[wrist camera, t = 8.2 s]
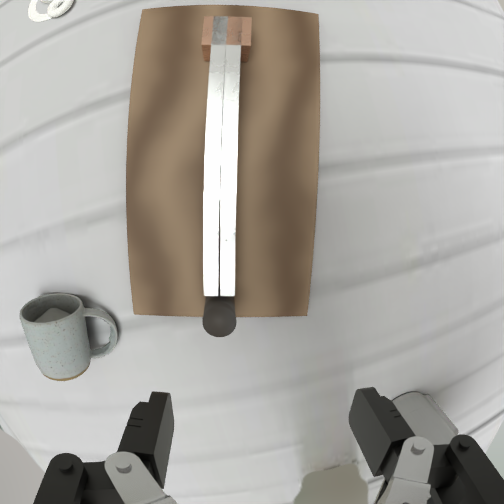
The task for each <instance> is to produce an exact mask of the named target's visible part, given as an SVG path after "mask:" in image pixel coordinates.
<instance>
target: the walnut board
mask: <svg viewBox="0 0 504 504" xmlns="http://www.w3.org/2000/svg"><path fill="white" fill-rule="evenodd" d="M204 16H228V17H252V27H251V47H250V52H249V56H248V61H247V62H240V82H239V111H238V143H237V182H236V233H235V296H220V217H219V289H218V296H204V267H203V221H204V167H205V139H206V116H207V98H208V81H209V67H210V61H204V57H203V51H202V45H201V43H202V33H203V23H204ZM222 125H223V120H222ZM319 132H320V48H319V18H318V14H314V13H308V12H302V11H295V10H287V9H279V8H269V7H257V6H239V5H191V6H173V7H161V8H151V9H143V10H142V15H141V20H140V26H139V32H138V38H137V44H136V51H135V58H134V66H133V74H132V83H131V93H130V105H129V118H128V135H127V162H126V210H127V238H128V256H129V270H130V282H131V292H132V302H133V311H134V314H137V315H159V316H191V317H203V327H204V329H205V330H206V332H207V333H209V334H210V335H212V336H215V337H224V336H227V335H229V334H231V333H232V332H233V330H234V329H235V327H236V317H282V316H307V312H308V303H309V293H310V283H311V272H312V261H313V249H314V235H315V221H316V205H317V187H318V165H319ZM221 159H222V145H221ZM220 213H221V175H220Z"/></svg>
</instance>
